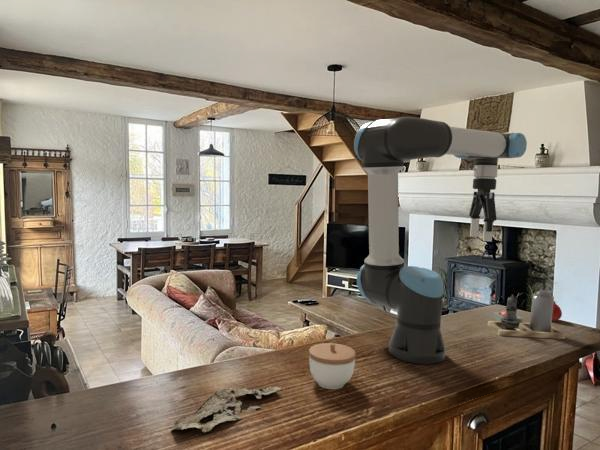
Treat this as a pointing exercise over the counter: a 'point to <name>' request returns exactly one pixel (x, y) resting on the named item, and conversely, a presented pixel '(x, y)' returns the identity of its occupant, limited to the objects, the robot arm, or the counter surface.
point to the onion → (556, 312)
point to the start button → (503, 313)
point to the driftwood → (221, 408)
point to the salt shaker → (510, 315)
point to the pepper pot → (541, 311)
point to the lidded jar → (331, 364)
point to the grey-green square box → (498, 316)
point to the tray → (525, 331)
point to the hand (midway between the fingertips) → (480, 238)
